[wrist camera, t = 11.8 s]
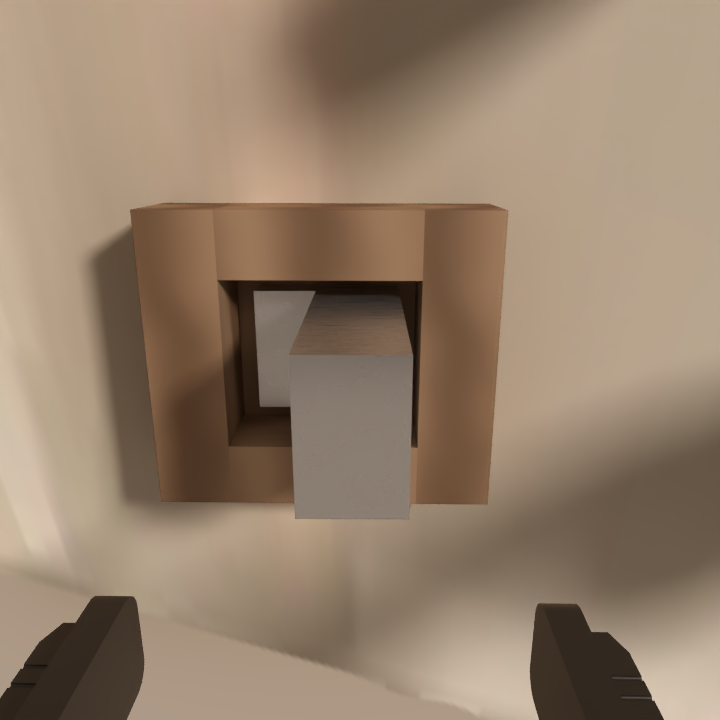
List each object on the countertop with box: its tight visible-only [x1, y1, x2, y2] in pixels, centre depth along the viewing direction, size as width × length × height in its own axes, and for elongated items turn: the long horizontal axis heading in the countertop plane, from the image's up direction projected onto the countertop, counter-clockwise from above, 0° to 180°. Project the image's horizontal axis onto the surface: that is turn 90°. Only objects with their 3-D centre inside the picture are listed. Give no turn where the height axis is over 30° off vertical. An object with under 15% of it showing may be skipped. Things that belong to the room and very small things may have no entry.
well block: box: [130, 203, 508, 504], centre depth 31 cm, size 16×14×4 cm
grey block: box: [254, 285, 413, 519], centre depth 27 cm, size 7×6×12 cm
